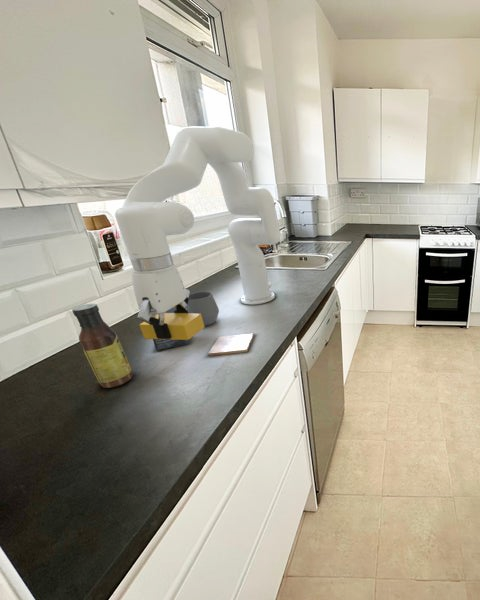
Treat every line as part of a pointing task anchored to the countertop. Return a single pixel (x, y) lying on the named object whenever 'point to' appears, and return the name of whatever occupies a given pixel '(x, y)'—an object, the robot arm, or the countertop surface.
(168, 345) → the box
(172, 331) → the block
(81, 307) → the sauce bottle
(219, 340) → the plate
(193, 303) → the cup
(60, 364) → the countertop surface
